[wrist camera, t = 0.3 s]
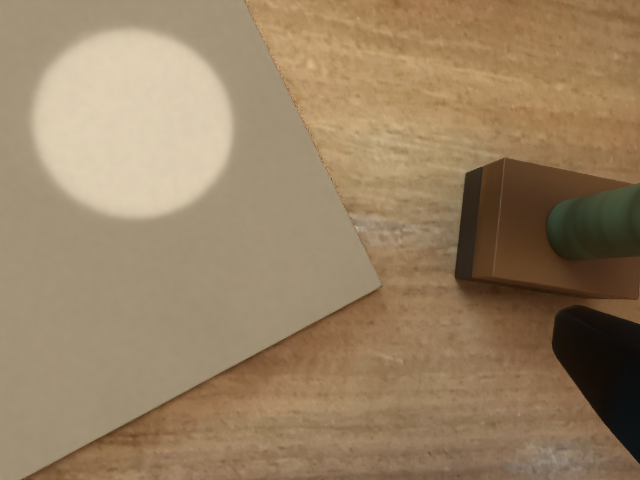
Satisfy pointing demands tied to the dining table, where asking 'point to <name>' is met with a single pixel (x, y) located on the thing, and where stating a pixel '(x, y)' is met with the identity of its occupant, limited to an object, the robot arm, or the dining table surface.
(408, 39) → the dining table surface
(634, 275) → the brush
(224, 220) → the tile
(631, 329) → the robot arm
